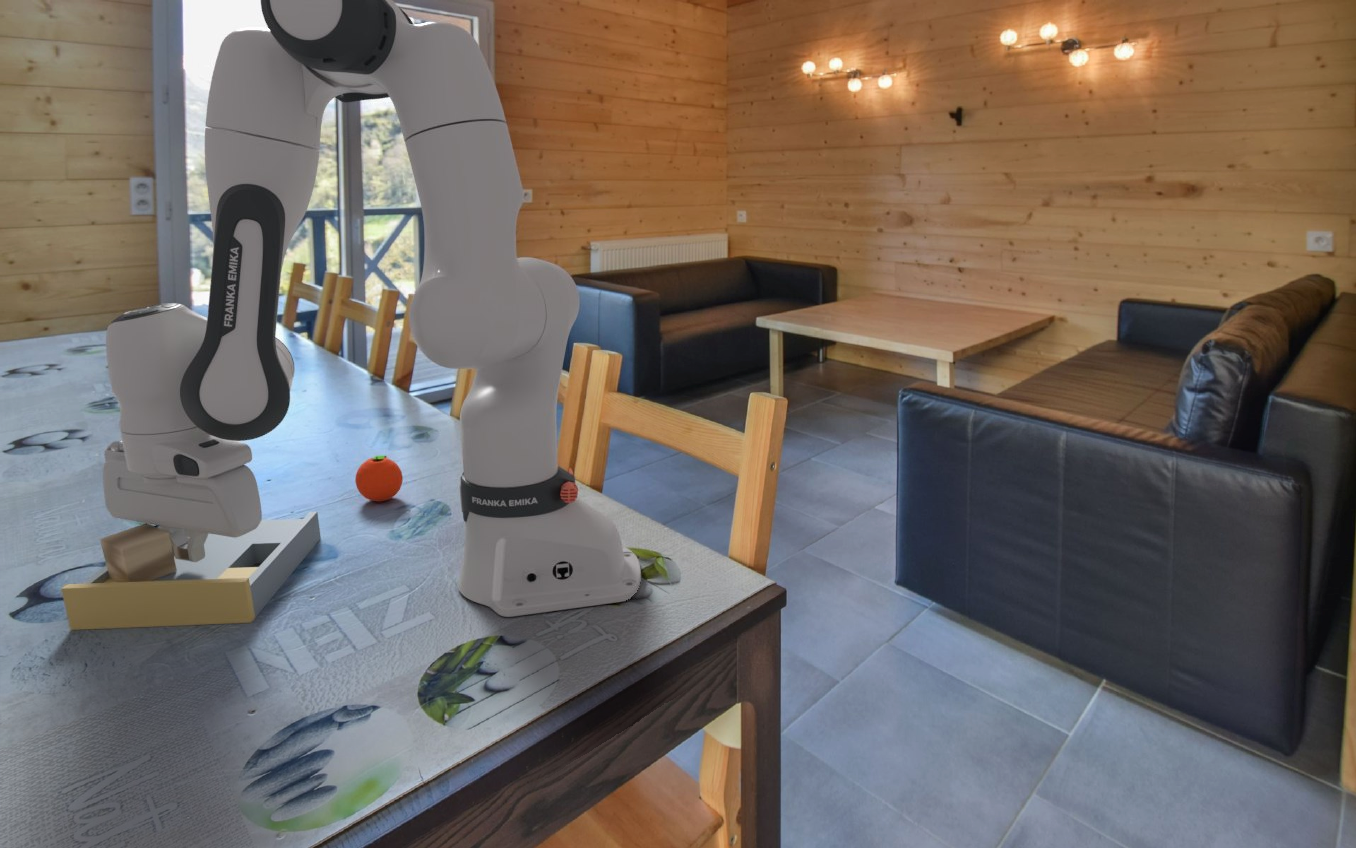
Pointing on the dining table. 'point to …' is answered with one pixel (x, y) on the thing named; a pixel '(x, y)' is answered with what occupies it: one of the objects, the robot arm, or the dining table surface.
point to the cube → (138, 554)
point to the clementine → (379, 478)
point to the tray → (199, 582)
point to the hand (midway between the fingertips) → (190, 559)
